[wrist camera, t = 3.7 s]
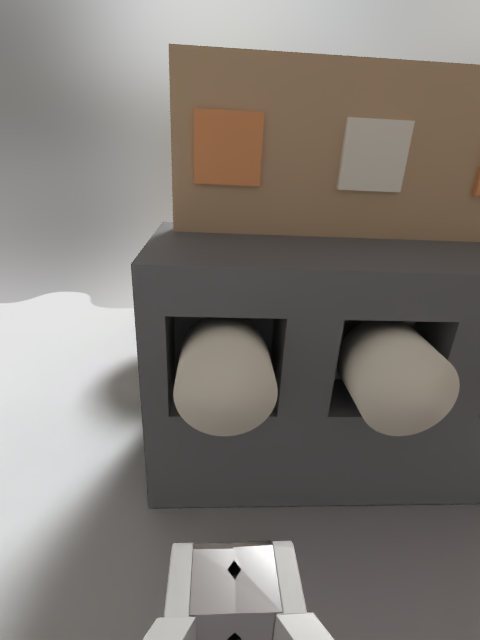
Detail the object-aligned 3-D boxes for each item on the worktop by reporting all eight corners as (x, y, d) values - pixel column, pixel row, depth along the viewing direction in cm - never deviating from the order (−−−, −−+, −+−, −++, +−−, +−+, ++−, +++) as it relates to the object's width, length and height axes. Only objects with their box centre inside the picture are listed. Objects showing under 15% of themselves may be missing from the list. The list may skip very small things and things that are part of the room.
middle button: (351, 436, 17) (369, 351, 16) (330, 390, 21) (343, 316, 19) (444, 436, 18) (472, 352, 16) (409, 391, 21) (428, 318, 19)
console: (148, 508, 21) (110, -15, 12) (169, 400, 30) (156, 56, 21) (553, 502, 23) (797, 38, 14) (458, 402, 32) (565, 82, 23)
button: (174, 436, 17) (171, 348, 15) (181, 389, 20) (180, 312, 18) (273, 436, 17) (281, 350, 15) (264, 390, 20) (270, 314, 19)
